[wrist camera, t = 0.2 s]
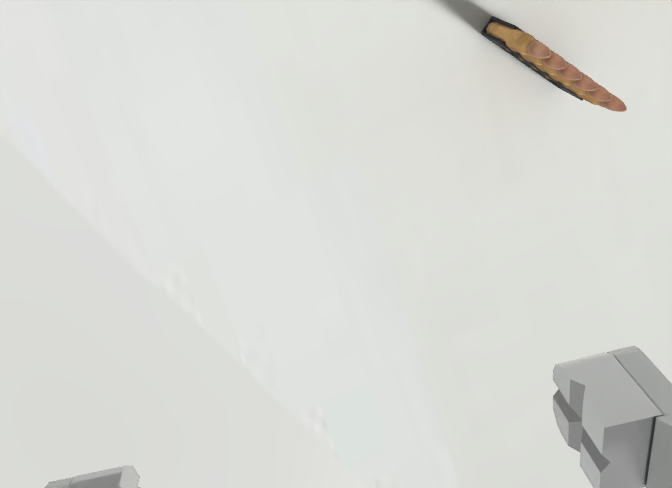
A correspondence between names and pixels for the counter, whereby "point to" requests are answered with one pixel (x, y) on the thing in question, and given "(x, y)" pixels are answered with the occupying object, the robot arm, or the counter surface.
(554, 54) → the ammunition clip
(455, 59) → the counter surface
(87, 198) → the counter surface
